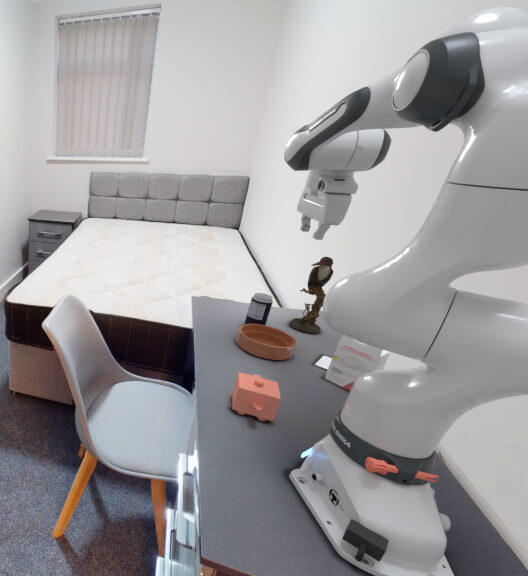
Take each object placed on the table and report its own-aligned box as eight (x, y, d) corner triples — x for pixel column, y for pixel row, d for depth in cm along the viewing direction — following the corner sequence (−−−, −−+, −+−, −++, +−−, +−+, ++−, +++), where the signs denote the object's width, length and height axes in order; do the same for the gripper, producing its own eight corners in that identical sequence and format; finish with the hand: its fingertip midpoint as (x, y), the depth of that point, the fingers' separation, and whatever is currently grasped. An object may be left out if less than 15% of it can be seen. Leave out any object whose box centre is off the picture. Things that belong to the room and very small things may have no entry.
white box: (314, 364, 102) (315, 362, 102) (323, 355, 107) (324, 353, 107) (351, 378, 96) (352, 376, 96) (359, 368, 101) (360, 366, 101)
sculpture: (280, 329, 121) (304, 257, 112) (296, 318, 129) (320, 250, 120) (309, 340, 115) (337, 264, 106) (325, 328, 123) (352, 256, 114)
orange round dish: (298, 365, 102) (303, 351, 100) (241, 355, 106) (245, 342, 104) (282, 341, 114) (287, 328, 113) (231, 332, 119) (235, 320, 117)
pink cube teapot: (231, 421, 81) (240, 391, 78) (231, 391, 91) (239, 363, 88) (273, 434, 78) (284, 403, 75) (268, 401, 87) (278, 372, 84)
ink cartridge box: (373, 392, 92) (397, 341, 86) (362, 397, 90) (386, 345, 84) (333, 373, 99) (354, 325, 93) (323, 378, 97) (343, 328, 91)
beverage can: (266, 334, 118) (277, 300, 113) (247, 332, 119) (257, 298, 114) (259, 326, 123) (269, 293, 119) (240, 324, 124) (250, 291, 120)
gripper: (299, 177, 104) (284, 225, 110) (329, 185, 86) (310, 243, 92) (325, 179, 102) (309, 227, 108) (362, 187, 85) (341, 245, 90)
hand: (310, 235), depth 100 cm, fingers open, 8 cm apart
